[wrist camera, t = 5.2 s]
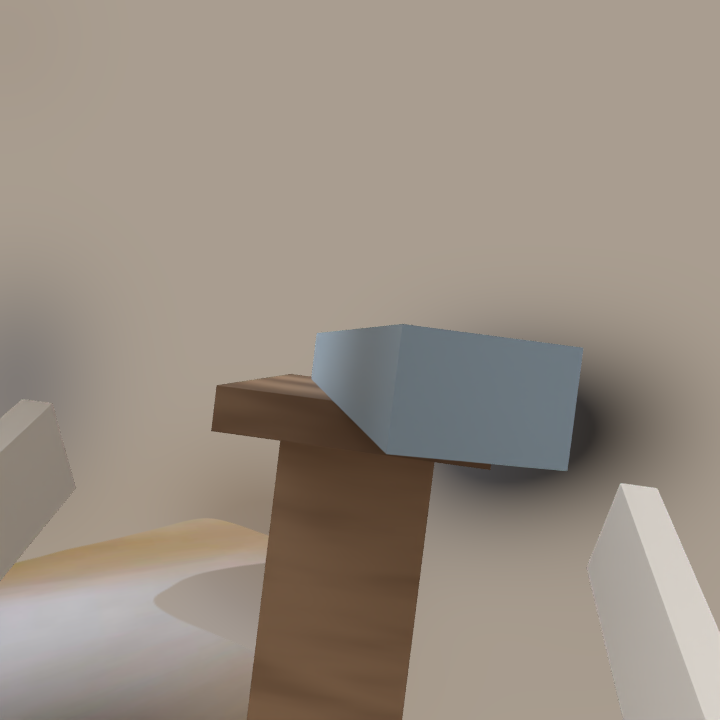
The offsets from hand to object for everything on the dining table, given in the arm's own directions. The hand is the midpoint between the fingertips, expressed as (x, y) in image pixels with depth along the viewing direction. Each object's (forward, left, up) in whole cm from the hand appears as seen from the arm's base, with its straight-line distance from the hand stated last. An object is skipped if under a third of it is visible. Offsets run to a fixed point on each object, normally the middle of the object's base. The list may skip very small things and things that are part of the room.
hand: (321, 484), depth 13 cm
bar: (-7, +10, +1) cm, 12 cm away
